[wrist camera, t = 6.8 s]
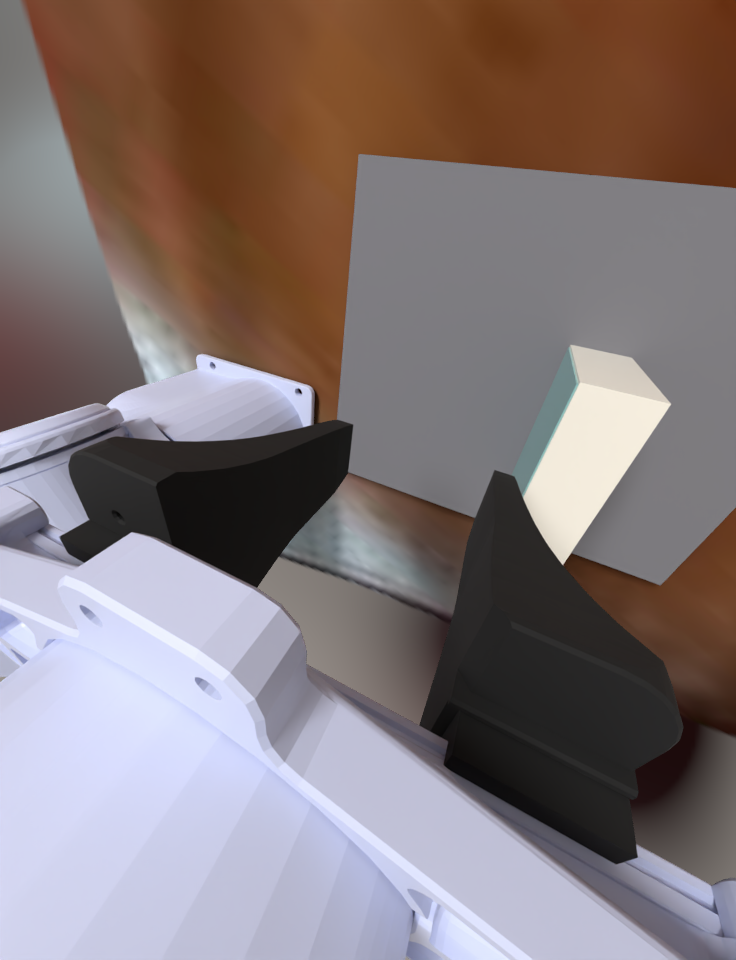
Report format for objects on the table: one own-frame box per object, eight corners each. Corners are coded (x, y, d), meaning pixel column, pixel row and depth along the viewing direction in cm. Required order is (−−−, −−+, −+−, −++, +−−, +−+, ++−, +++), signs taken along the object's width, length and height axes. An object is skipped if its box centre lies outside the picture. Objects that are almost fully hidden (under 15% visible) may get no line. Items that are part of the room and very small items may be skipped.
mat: (338, 461, 25) (333, 466, 24) (366, 158, 15) (358, 153, 15) (656, 574, 19) (660, 585, 19) (989, 216, 10) (1018, 213, 9)
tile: (510, 475, 19) (498, 545, 14) (569, 344, 15) (578, 381, 10) (557, 490, 18) (560, 568, 14) (631, 357, 14) (671, 404, 10)
